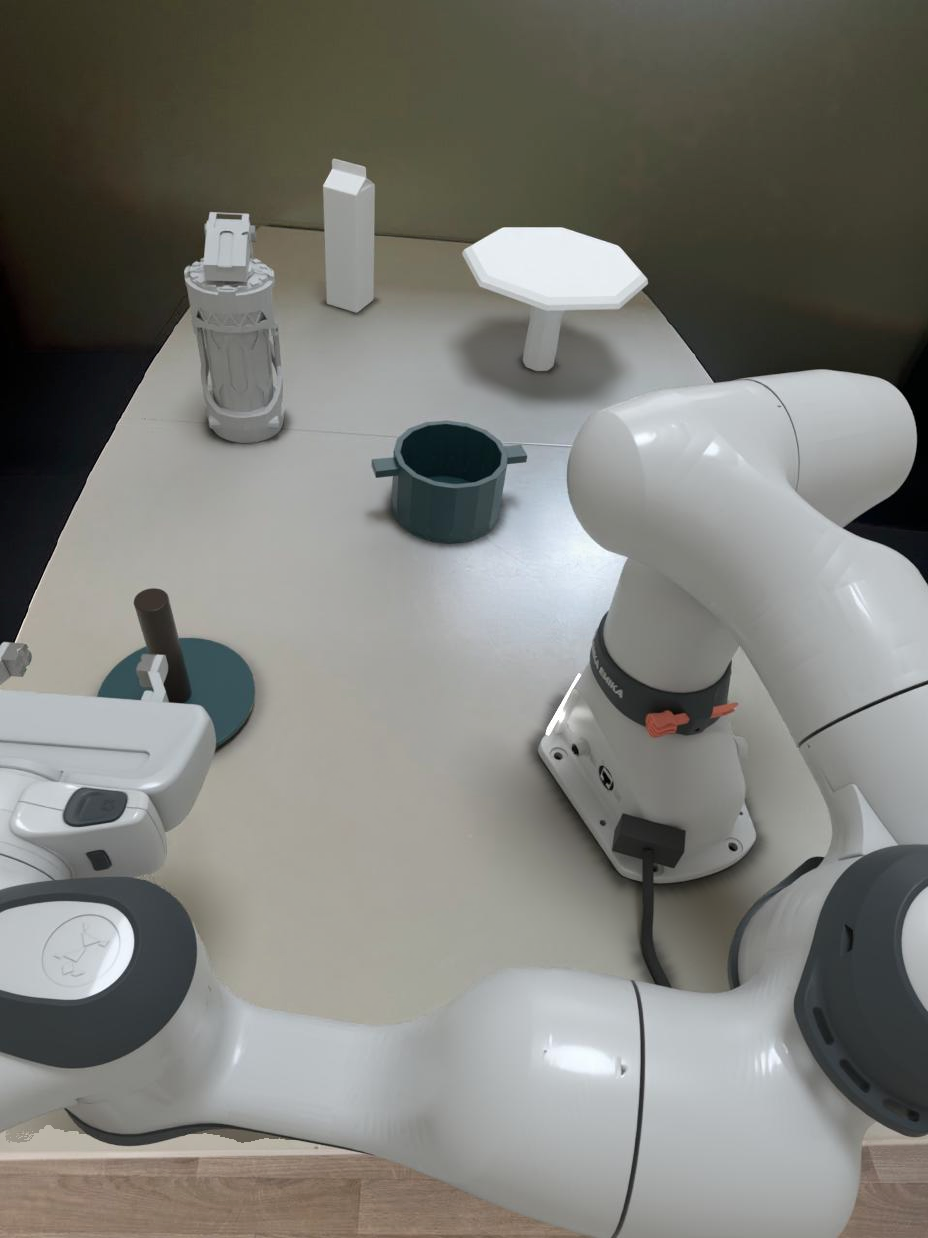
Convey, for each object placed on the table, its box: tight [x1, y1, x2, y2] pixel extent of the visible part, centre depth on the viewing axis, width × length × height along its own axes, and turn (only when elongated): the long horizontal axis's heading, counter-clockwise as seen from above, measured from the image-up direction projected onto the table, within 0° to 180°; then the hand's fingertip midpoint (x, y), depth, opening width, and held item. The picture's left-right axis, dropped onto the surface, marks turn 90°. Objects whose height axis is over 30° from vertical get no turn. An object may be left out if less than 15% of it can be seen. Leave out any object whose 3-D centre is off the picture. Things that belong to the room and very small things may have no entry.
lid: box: [96, 587, 256, 748], centre depth 73 cm, size 15×15×14 cm
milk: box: [322, 158, 376, 314], centre depth 130 cm, size 6×6×22 cm
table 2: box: [461, 226, 649, 372], centre depth 124 cm, size 28×28×17 cm
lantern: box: [183, 211, 286, 444], centre depth 102 cm, size 13×10×25 cm
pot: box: [371, 420, 528, 544], centre depth 99 cm, size 14×19×8 cm
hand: (88, 653), depth 56 cm, fingers open, 8 cm apart
